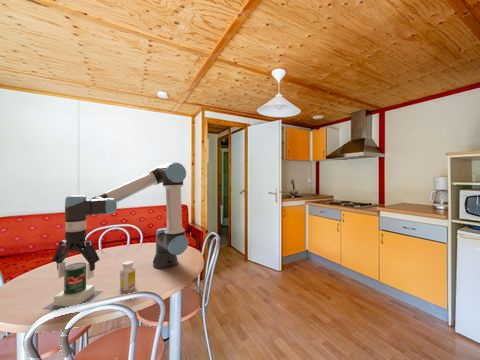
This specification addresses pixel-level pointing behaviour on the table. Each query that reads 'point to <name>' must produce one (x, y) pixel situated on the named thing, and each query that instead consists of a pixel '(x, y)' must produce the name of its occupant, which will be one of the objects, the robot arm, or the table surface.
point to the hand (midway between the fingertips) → (76, 277)
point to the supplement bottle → (127, 276)
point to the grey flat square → (68, 306)
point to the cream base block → (73, 297)
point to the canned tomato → (74, 278)
